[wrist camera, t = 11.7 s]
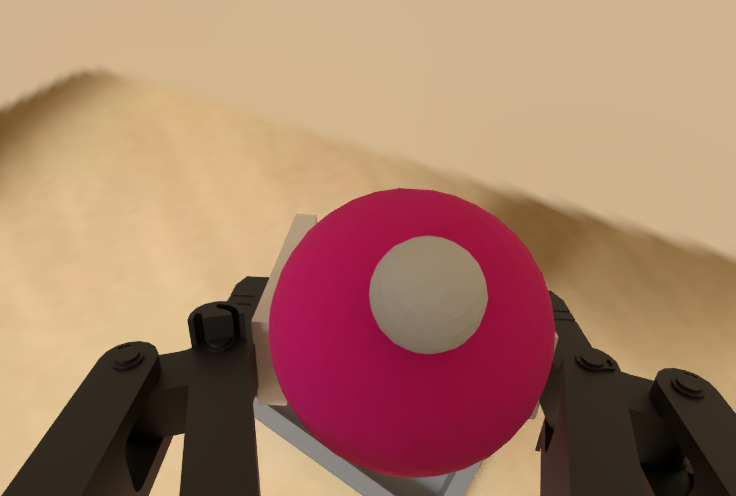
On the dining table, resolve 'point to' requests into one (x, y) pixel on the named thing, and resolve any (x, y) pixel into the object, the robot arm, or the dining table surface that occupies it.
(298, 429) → the tray
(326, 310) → the pepper mill
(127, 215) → the dining table surface
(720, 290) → the dining table surface
